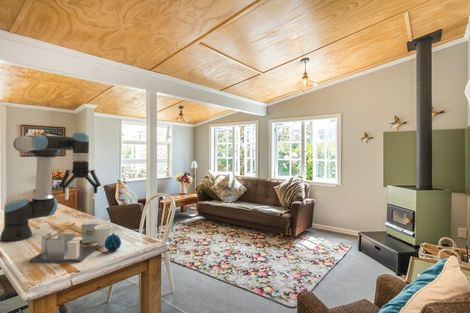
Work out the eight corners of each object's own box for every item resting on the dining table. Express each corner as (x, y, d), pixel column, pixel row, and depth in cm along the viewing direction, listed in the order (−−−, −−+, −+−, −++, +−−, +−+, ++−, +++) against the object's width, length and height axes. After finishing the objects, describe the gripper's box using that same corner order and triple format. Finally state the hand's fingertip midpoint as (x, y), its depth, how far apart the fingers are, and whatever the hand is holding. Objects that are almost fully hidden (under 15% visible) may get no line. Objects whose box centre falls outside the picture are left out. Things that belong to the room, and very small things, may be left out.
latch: (67, 259, 128) (68, 241, 128) (74, 253, 134) (75, 237, 134) (76, 259, 128) (76, 241, 128) (82, 253, 134) (83, 237, 134)
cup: (98, 241, 157) (98, 224, 157) (115, 241, 158) (115, 224, 157) (90, 248, 147) (91, 229, 147) (108, 247, 148) (108, 229, 147)
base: (29, 262, 126) (30, 240, 126) (53, 248, 144) (53, 229, 144) (80, 262, 128) (80, 240, 128) (96, 248, 146) (97, 229, 146)
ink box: (83, 239, 161) (83, 220, 160) (98, 237, 164) (98, 219, 164) (81, 243, 153) (81, 224, 153) (97, 242, 156) (97, 223, 156)
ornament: (104, 253, 140) (104, 235, 140) (104, 250, 144) (105, 232, 144) (120, 251, 143) (121, 233, 143) (120, 248, 148) (121, 231, 147)
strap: (45, 241, 134) (44, 240, 134) (48, 240, 136) (47, 238, 136) (75, 223, 135) (75, 222, 135) (77, 222, 137) (77, 221, 137)
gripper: (52, 160, 135) (51, 201, 135) (102, 161, 139) (102, 200, 139) (59, 160, 142) (58, 198, 142) (107, 161, 146) (106, 197, 147)
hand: (80, 199), depth 141 cm, fingers open, 13 cm apart
